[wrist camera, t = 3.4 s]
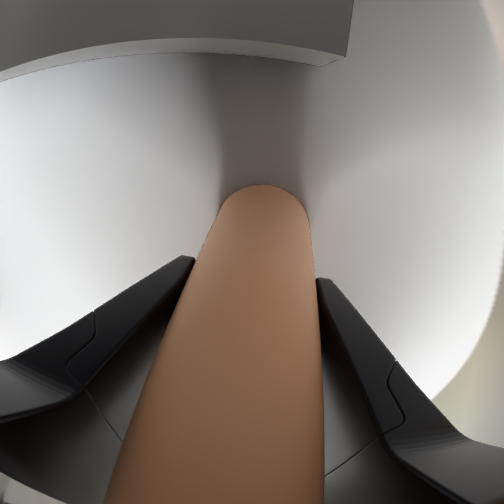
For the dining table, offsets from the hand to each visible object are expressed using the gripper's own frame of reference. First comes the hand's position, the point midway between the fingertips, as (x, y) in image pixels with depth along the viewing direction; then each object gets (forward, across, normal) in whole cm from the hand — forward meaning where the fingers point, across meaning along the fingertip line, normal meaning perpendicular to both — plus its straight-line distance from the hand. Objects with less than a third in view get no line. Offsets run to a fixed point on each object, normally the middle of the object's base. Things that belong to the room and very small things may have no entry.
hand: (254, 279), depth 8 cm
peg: (+3, 0, 0) cm, 3 cm away
